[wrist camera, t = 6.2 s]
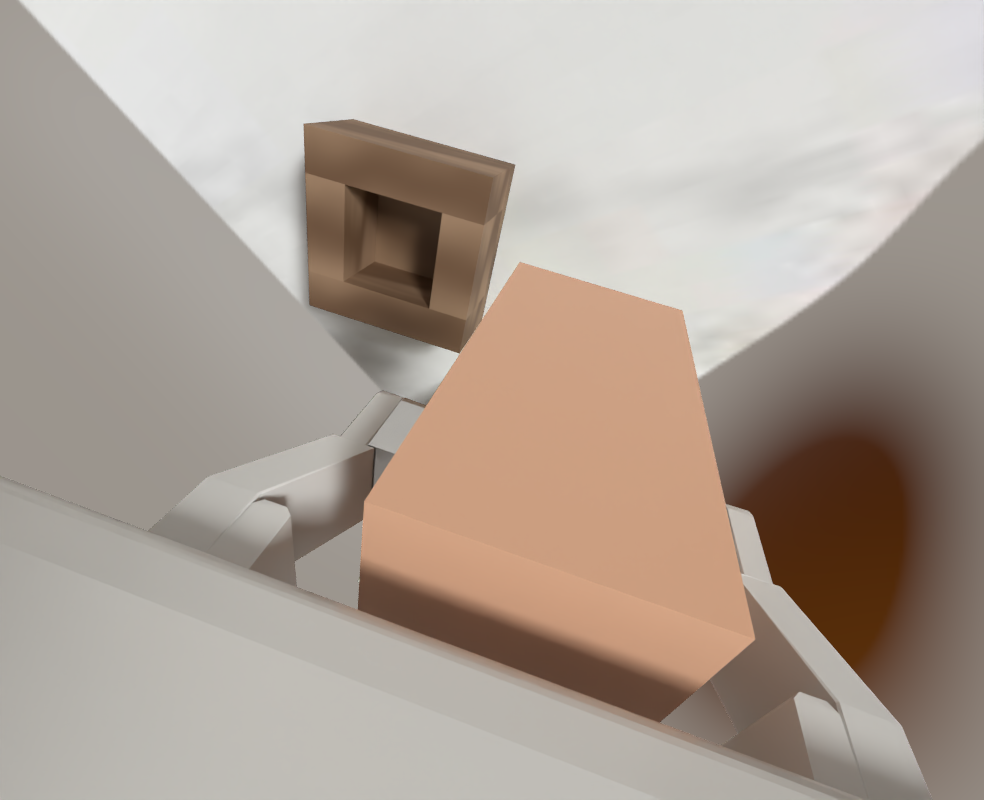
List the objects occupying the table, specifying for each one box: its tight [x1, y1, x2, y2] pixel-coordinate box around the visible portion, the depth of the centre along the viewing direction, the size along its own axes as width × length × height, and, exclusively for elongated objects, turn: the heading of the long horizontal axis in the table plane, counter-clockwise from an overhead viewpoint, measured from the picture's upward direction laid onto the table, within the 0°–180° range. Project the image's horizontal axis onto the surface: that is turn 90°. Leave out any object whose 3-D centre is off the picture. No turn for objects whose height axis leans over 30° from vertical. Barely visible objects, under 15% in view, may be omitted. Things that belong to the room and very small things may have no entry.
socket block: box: [304, 119, 515, 353], centre depth 30 cm, size 11×11×6 cm
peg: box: [358, 262, 755, 723], centre depth 10 cm, size 4×4×9 cm
